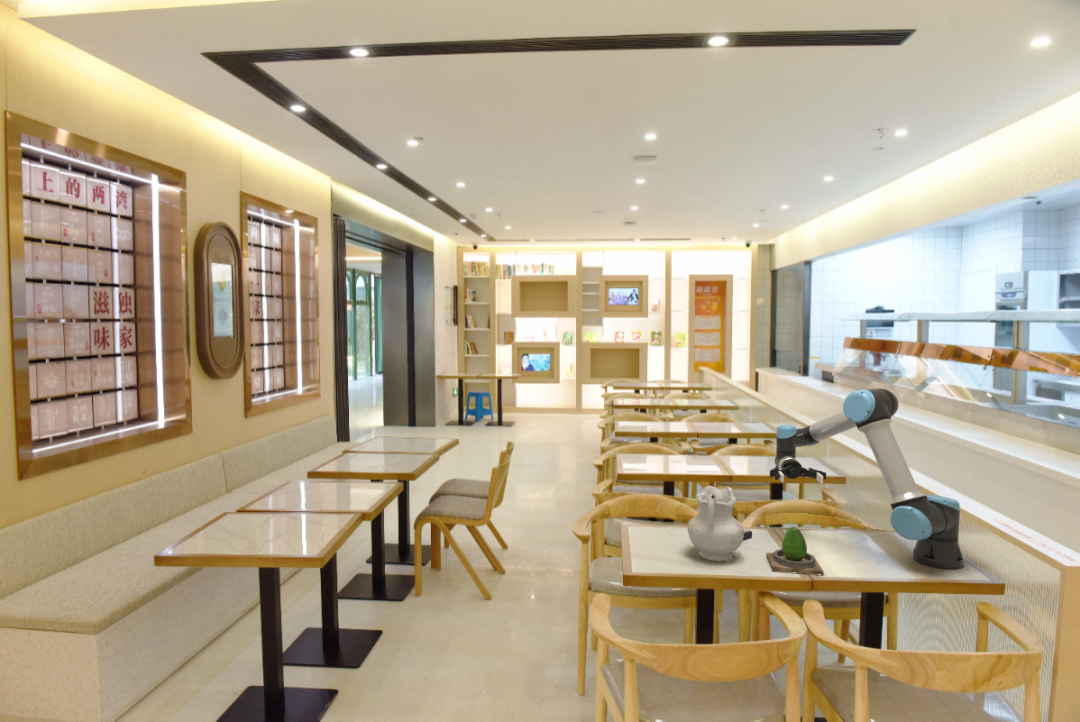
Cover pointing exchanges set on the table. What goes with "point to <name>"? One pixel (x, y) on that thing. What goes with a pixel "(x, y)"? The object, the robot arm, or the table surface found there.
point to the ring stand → (793, 563)
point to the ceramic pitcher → (716, 525)
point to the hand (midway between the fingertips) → (802, 479)
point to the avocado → (794, 545)
